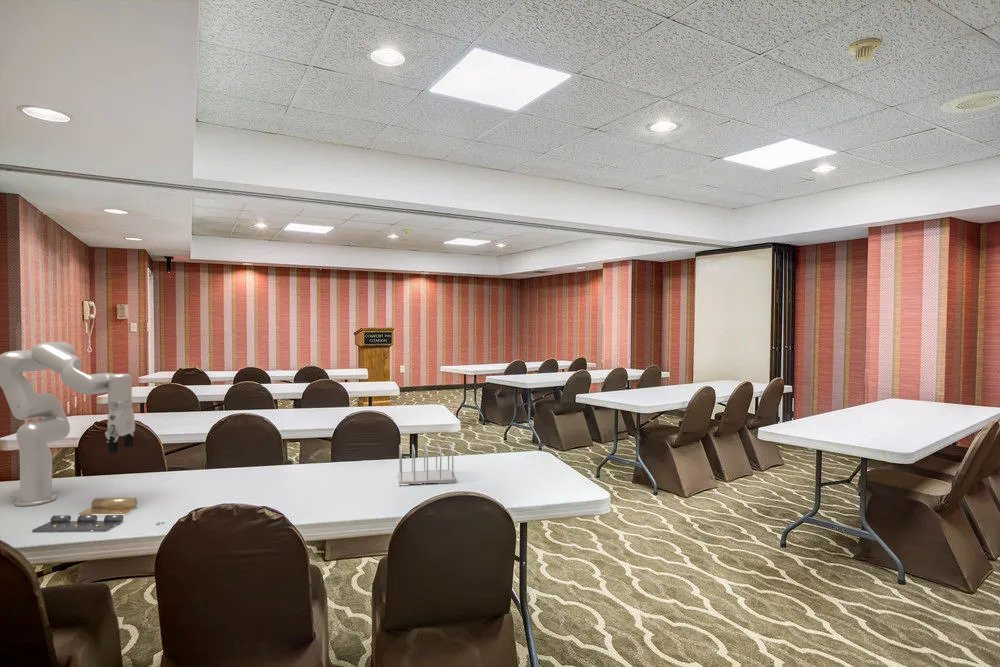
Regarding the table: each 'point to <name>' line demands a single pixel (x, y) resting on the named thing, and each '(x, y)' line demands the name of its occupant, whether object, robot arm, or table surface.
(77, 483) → the table surface
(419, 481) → the file sorter
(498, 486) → the table surface
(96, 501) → the bronze hinge leaf
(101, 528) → the steel hinge leaf
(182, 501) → the table surface
